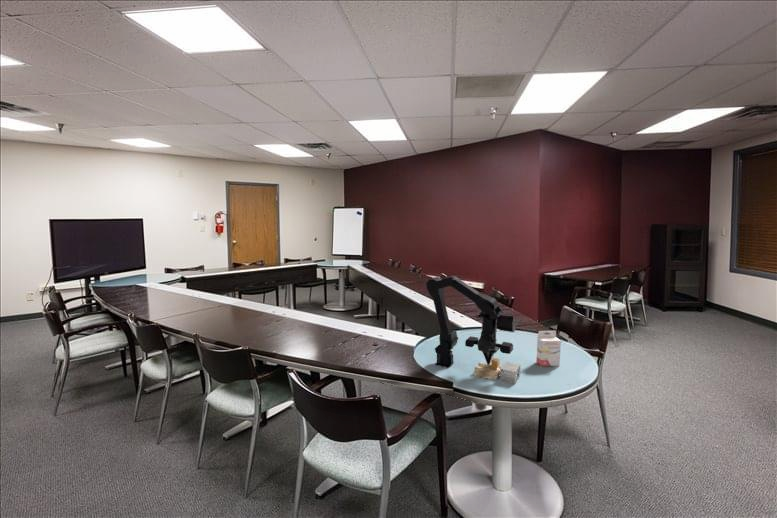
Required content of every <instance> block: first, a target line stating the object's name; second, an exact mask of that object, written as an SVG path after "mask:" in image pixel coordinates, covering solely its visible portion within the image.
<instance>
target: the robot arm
mask: <svg viewBox="0 0 777 518" xmlns="http://www.w3.org/2000/svg"><path fill="white" fill-rule="evenodd" d="M425 287H426V290H427V292H428V294H429V296H430V297H431V298H432V301H433V305H434V309H435V312H436V316H437V317H436V318H437V321H438V326H439V330H440V331H439V344H438V345H437V346H436V347H435V348H434V351H435V354H436V362H435V363H434V364H435V365H434V366H438V367H443V368H450V367H451V366H452V365H453V364H454V363H455V362H454V354H453V349H454V347H455V346H456V345H458V340H459V337H458V333H457V330H453V329H452V326H451V324H450V320H449V315H448V311H447V306H446V302H445V298H444V297H445V296H444V295H445V288H446V287H451V288H453V289H454V290H456V291H457V292H458V293H460V294H461V295H463V296H464V297H466V298H467V299H469V300H471V302H473V303H474V304H475V305H476V307H477V308H478V309H479V310H480V312H479V314H477V316H476V317H477V318H480V319H481V332H480V337H477V336H476V337H475V336H471V335H470V336H469V337H468V338H466V339H465V341H464V345H465V347H467V348H473V347H474V346H477V350H478V351H480V352H481V353H482V354H483V356H484V359H485V361H486V362H485V363H486V364H488V365H489V364H491V360H492V359H493V358H494V354H496V353H497V352H498V351H500V352H501V353H502V354H506V355H511V353H512V352H513V350H514V345H513V343H512V342H509V341H508V342H506V341H503V342H502V343H497V329H498V330H499V331H501V332H502V331H503V332H509V333H515V331H516V326H517V321H516V318H515V315H514V314H507V313H506V314H504V312H503V311H502V309H501V307H500V306H499V303H498V301H497V299H496V298H495V297H493V296H490V295H488V294H485V293H481V292H479V290H477V289H475V288H473V287H472V286H471V285H469V284H468V283H466V282H465V281H463V280H461V279H460V278H459V277H458V276H456V275H450V276H445V277H439V276H435V277H433V278H430V279H428V280H427V282H426V283H425Z"/></svg>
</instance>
